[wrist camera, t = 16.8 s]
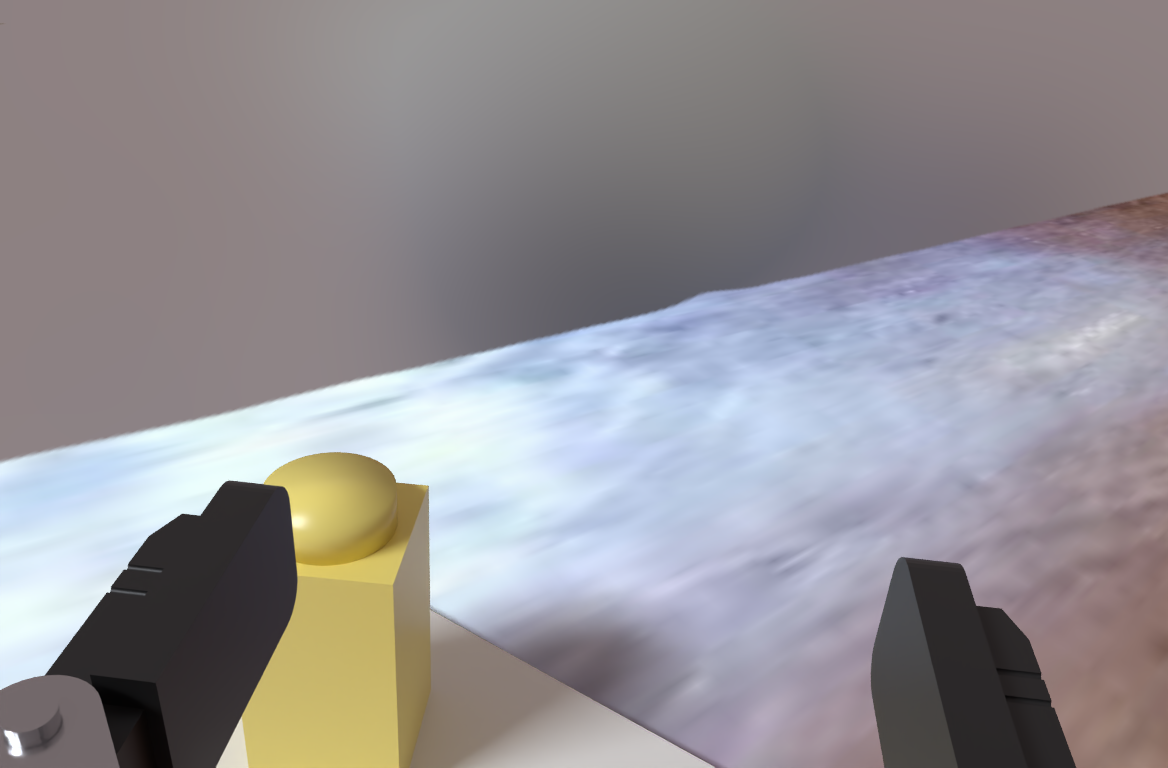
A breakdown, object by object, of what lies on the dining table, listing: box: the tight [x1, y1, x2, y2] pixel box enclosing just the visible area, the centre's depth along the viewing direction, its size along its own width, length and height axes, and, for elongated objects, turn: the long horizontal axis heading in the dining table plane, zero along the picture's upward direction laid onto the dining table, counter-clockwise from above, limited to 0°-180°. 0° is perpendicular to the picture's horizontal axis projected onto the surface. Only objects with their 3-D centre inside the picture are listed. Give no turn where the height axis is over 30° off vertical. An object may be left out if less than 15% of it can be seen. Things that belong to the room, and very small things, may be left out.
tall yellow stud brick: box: [242, 452, 431, 768], centre depth 41 cm, size 6×6×13 cm
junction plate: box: [216, 610, 715, 768], centre depth 41 cm, size 16×26×8 cm, turn 56°
